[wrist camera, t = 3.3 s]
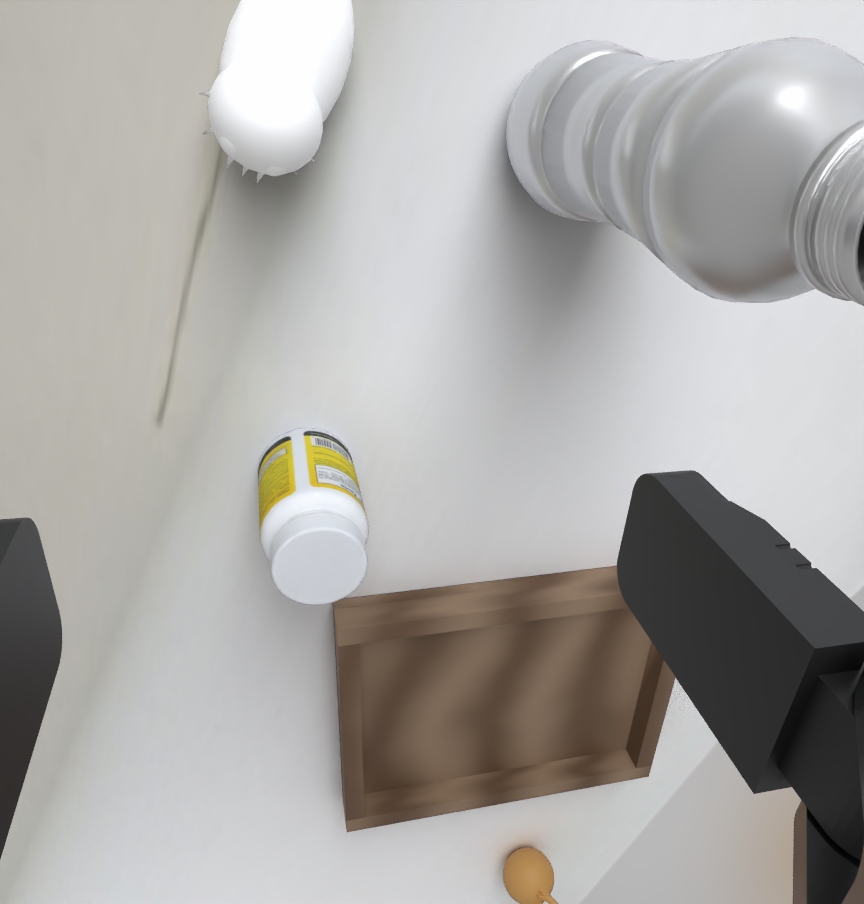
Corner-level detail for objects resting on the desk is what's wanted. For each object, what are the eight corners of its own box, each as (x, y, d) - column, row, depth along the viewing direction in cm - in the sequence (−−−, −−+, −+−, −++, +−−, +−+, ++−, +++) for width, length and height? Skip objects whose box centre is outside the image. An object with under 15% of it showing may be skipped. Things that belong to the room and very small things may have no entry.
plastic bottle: (525, 233, 33) (810, 432, 16) (467, 86, 30) (754, 145, 13) (650, 164, 33) (1073, 295, 16) (606, 8, 29) (1090, -38, 12)
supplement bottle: (268, 513, 38) (272, 623, 31) (248, 435, 35) (247, 534, 28) (358, 495, 38) (383, 599, 31) (345, 417, 36) (368, 510, 29)
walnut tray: (679, 558, 46) (700, 583, 44) (633, 747, 55) (648, 776, 52) (332, 600, 41) (336, 630, 39) (342, 798, 50) (346, 832, 48)
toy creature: (185, 138, 28) (170, 160, 23) (262, -78, 26) (265, -109, 20) (294, 192, 30) (303, 224, 25) (377, -5, 28) (407, -16, 22)
